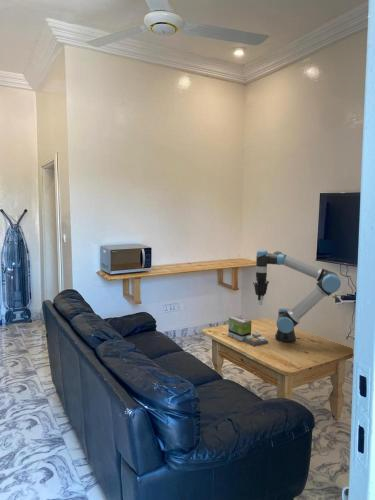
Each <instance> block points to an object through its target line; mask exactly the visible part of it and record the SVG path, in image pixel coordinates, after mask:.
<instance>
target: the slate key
mask: <svg viewBox="0 0 375 500" xmlns="http://www.w3.org/2000/svg"><path fill="white" fill-rule="evenodd" d="M251 336H253V337H254V338H257V337H262V334H260V333H258V332H255V333H251Z"/></svg>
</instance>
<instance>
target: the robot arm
mask: <svg viewBox="0 0 375 500" xmlns="http://www.w3.org/2000/svg"><path fill="white" fill-rule="evenodd" d="M255 257H256V260H255V261H256V263H255V264H256V266H255V268H256V269H255V271H256V272H255V277H256V278H255V281H253V282H252V284H253V286H254V294H255V295H256V296H257V301H258V302H257V305H259V306H263V301H264V296H265V295H266V294H267V291H268V290H267V289H268V285H269V284H270V283H269V282H270V281H269V280H267V275H268V273H267V272H268V265H278V266H285V267H287V268H289V269H292V270H294V271H297V272H299V273H301V274H303V275H306V276H309V277H311V278H313V279H315V281H316V284H315V287H314V288H313V289H312V290H311V291H310V292H309V293H308V294H307V295H306V296H304V297H303V298H302V299H301V300H300V301H298V302H297V304H296V305H295V306H293V307H292V308H279V309H278V311H277V313H278V315H277V316H278V317H277V320H276V327H277V331H276V333H275V336H274V337H275V338H274V339H275V340H276V341H277V342H280V343H287V344H288V343H289V344H292V343H295V342H296V341H297V336H296V332H295V327H296V326H297V325H298V324H300V319H301V318H303V317H304V316H305V315H306V314H307V313H308V312H310V311H311V309H314V307H315V306H317V304H318V303H320V301H322V300H323V299H324V298H325V297H330V296H332V294H334V293H336V292H337V291H338V290H339V289H340V288H341V286H342V283H341V278H340V277H339V275H338V274H337V273H336V272H333V271H331V270H327V269H325V268H322V267H321V268H318V267H316V266H313V265H311V264H310V263H306V262H304V261H302V260H299V259H296V258H295V257H292V256H290V255H288V254H284V253H282V251H275V252H273V253H268V250H264V249H259V250H257V251H256V256H255Z"/></svg>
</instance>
